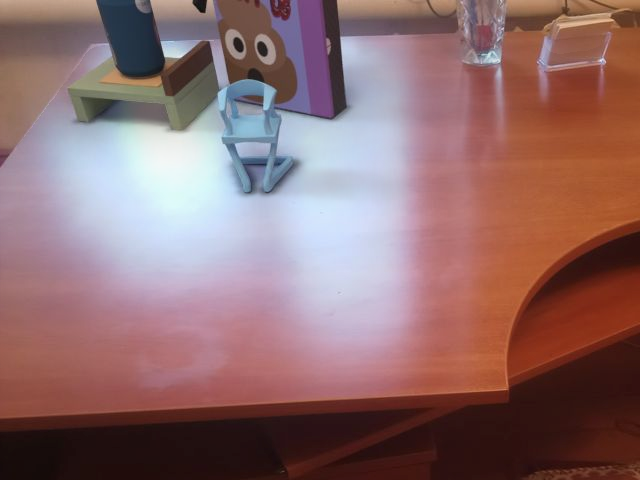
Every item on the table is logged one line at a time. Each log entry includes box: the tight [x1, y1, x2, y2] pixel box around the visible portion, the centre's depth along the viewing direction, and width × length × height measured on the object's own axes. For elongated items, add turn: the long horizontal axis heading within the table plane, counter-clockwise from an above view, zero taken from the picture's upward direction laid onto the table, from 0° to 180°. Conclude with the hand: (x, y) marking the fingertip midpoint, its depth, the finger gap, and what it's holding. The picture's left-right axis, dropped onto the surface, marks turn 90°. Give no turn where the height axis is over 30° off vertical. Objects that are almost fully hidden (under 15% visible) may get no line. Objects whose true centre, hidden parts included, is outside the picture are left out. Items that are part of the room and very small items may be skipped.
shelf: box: [66, 39, 221, 131], centre depth 108 cm, size 16×14×8 cm
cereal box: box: [212, 0, 347, 120], centre depth 104 cm, size 17×5×24 cm, turn 69°
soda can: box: [95, 0, 166, 79], centre depth 103 cm, size 7×7×12 cm
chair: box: [217, 79, 294, 193], centre depth 91 cm, size 8×8×12 cm
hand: (155, 5), depth 108 cm, fingers open, 13 cm apart
